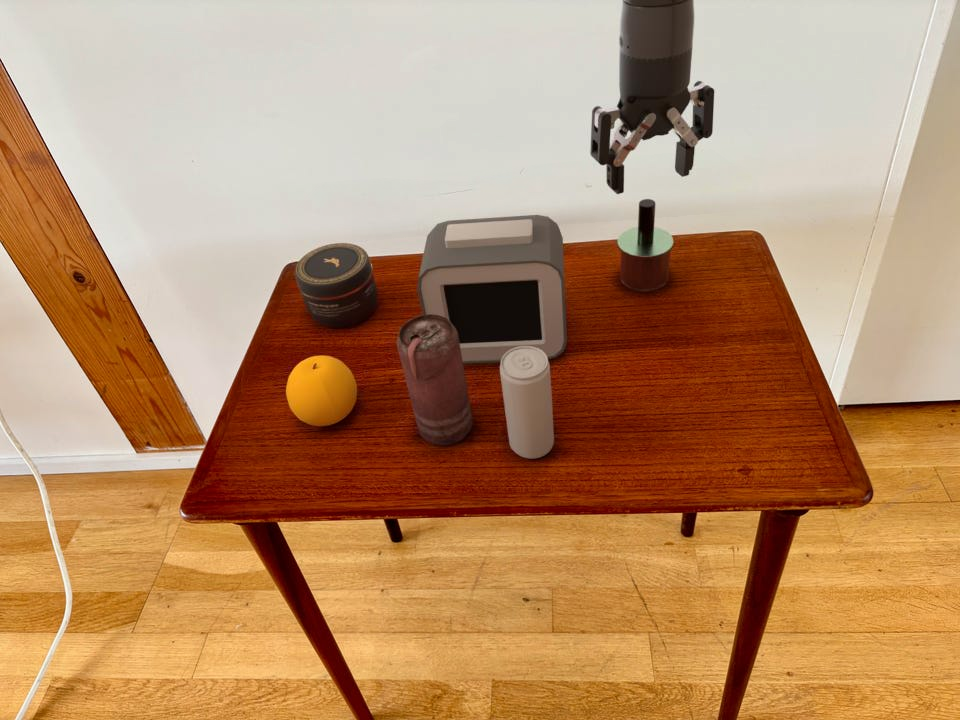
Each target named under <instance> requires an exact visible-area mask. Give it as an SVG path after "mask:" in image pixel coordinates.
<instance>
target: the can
mask: <svg viewBox="0 0 960 720" xmlns="http://www.w3.org/2000/svg"><path fill="white" fill-rule="evenodd" d="M396 348H397V352H398V355H399V359H400V364H401V367H402V372H403V375H404V379H405V383H406V387H407V391H408V395H409V399H410V403H411V407H412V410H413V414H414V419H415V422H416V426H417V430H418V433H419V435H420V436H421V438H423V440H425V441H427V442H428V443H430V444H432V445H434V446H440V447H441V446H442V447H444V446H451V445H455V444H457V443H459V442H461V441H463V440H464V438H466V436H467V435H468V434H469V433H470V432H471V430H472V427H473V423H474V421H473V420H474V419H473V413H472V407H471V400H470V396H469V395H470V394H469V390H468V383H467V378H466V371H465V367H464V364H463V360H462V355H461V349H460V343H459V338H458V332H457V330H456V328H455V327H454V326H453V325H452V323H451V322H450V321H449V320H448V319H447V318H445V317H443V316H440V315H433V314H428V315H423V314H422V315H421V314H420V315H418V316H415V317H413V318H410V319H409V320H407V321H406V322H405V323H403V325H401V327H400V328H399V331H398V335H397V339H396Z"/></svg>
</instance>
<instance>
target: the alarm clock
mask: <svg viewBox="0 0 960 720" xmlns="http://www.w3.org/2000/svg"><path fill="white" fill-rule="evenodd" d="M564 259H565V258H564V237H563V235H562V232H561V229H560V227H559V224H558V223H557V222H555V221H554V220H553V219H552V218H550V217H549V216H546V215H541V214H529V215H528V214H527V215H516V216H515V215H514V216H512V215H511V216H498V217H483V218H469V219H468V218H466V219H465V218H464V219H453V220H452V219H451V220H446V221H441V222H439V223H436V225H434V227H433V228H432V229H431V230H430V232H429V233H428V234H427V236H426V240H425V245H424V249H423V254H422V260H421V262H420V263H421V264H420V269H419V273H418V277H417V286H416V290H417V296H418V299H419V305H420V309H421V314H422V315H428V314H433V315H440V316H443V317H445V318H447V319H448V320H449V321H450V322H451V323H452V325H453V326H454V327H455V328H456V330H457V332H458V338H459V343H460V349H461V355H462V360H463V365H464V364H465V365H466V364H467V365H469V364H470V365H471V364H492V363H493V364H494V363H495V364H496V363H501V359H502V357H503V356H504V354H505V353H506V352H508V351H509V350H511V349H513V348H516V347H520V346H533V347H536V348H539V349H540V350H542V351H543V352H544V353H545V354H546V356H547V358H548V360H552V359H556V358H557V357H558V356H560V355H561V354H563V352H564V351H565V349H566V346H567V343H568V333H567V330H568V329H567V308H566V304H567V303H566V282H565V281H566V280H565V261H564Z"/></svg>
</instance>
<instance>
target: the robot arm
mask: <svg viewBox="0 0 960 720" xmlns="http://www.w3.org/2000/svg"><path fill="white" fill-rule="evenodd" d="M621 3H622V4H621V12H620V18H619V36H618V45H619V58H618V59H619V63H618V64H619V65H618V71H619V72H618V87H619V99H618V103H617V105H616V106H614V107H607V108H603V107H602V106H600V105H596V106H594V107H593V108H592V110H591V127H590V128H591V129H590V149H589V151H590V152H589V153H590V156H591V157H592V158H593V159H594V161H596V162H597V163H598V164H599V165H600V166H606V184H607V186H608V187H609V189H611V191H613V192H614V193H615V194H616V195H621V194H624V192H625V164H624V162H625V160H626V159H627V157H628V155H630V153H631V152H632V151H634V150H636V148H637V146H639V144H640V142H641V141H648V140H651V139H652V138H655V137H656V136H658V137H659V136H660V137H661V136H667V135H669V132H671V131H673V132H674V134H675V135H676V136H677V138H678V139H679V141H676V144H675V159H674V170H675V173H676V174H678V175H679V176H681V178H683V177H688V176H689V175H690V171H692V169H693V167H694V161H695V151H696V150H695V149H696V146H697V144H698V143H699V141H701V140H702V139H709V138H710V137H711V136H712V135H713V130H714V107H715V88H713V87H711V86H710V85H709V84H707V83H705V82H703V81H701V80H697V81H696V82H695V83H694V85H693V86H692V87H689V86H690V83H691V71H692V57H693V47H694V33H695V18H696V16H695V15H696V14H695V0H622V2H621ZM688 87H689V88H688ZM689 104H692V126H689V123H687V122H686V120H685V119H684V118H683V117H682V115H683V114H684V112H685V110H687V107H688V106H689ZM618 119H619V120H620V123H619V124H618V126H617V128H616V129H615V131H614V133H613V139H612V141H611V130H613V129H614V128H615V124H616V121H617V120H618ZM628 133H630V135H629V137H628V136H627V135H628Z"/></svg>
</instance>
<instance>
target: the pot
mask: <svg viewBox="0 0 960 720" xmlns="http://www.w3.org/2000/svg"><path fill="white" fill-rule="evenodd" d="M671 251H672V250H671ZM671 251H670V252H669V253H668V254H666V255H664V256H662V257H659V258H656V259H648V260H643V259H635V258H631V257H629V256H626V255H625V254H623V253H622V252H621V251H620V266H619V267H620V271H619V274H620V283H621V284H622V285H623V286H624V287H625V288H626V289H628V290H631V291H633V292H636V293H637V292H638V293H651V292H655V291H659V290H661V289H663V287H665V286H666V285H667V283H668V281H669V277H670V263H671Z"/></svg>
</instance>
